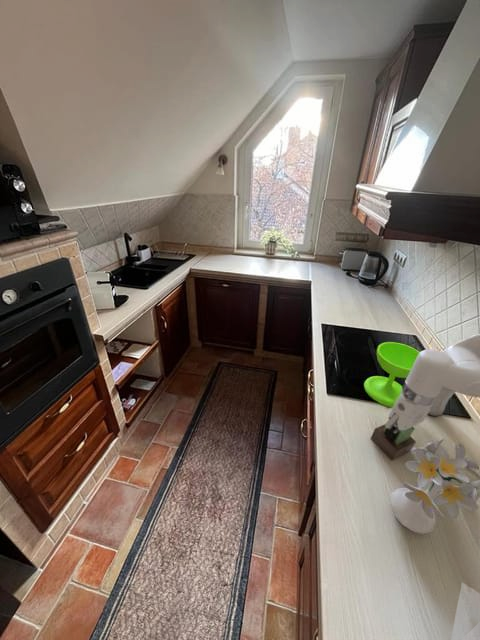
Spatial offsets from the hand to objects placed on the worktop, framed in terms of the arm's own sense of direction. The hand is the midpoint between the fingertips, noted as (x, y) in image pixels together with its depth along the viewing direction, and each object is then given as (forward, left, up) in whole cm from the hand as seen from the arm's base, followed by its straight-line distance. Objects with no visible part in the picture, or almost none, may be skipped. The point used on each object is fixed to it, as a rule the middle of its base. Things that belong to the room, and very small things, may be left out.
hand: (396, 433), depth 77 cm
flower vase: (+13, +16, -6) cm, 21 cm away
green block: (0, 0, 0) cm, 0 cm away
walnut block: (0, 0, -6) cm, 6 cm away
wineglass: (-18, -17, -6) cm, 25 cm away
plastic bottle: (-25, -4, -6) cm, 26 cm away
